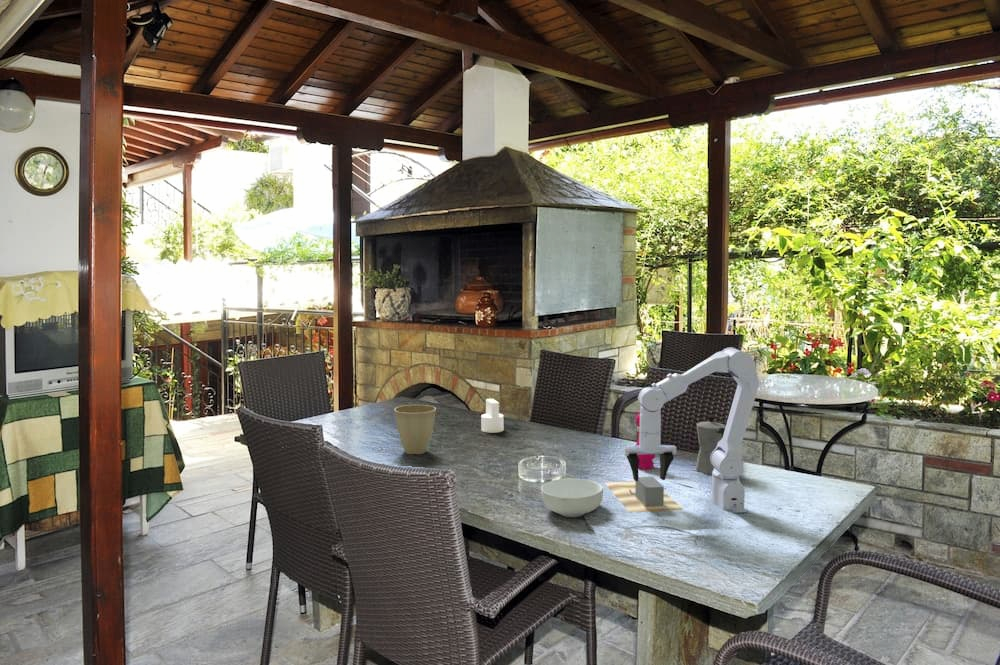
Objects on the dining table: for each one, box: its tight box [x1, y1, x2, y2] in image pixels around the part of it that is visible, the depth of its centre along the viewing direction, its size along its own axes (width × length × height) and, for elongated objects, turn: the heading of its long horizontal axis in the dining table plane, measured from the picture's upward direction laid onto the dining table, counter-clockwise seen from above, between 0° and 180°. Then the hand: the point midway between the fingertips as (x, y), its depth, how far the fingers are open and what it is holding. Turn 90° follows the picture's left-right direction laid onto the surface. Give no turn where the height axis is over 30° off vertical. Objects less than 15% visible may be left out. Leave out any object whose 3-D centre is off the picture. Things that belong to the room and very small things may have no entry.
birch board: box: [604, 480, 684, 513], centre depth 205 cm, size 26×15×1 cm, turn 7°
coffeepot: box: [695, 415, 726, 475], centre depth 230 cm, size 15×9×18 cm, turn 14°
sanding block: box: [635, 476, 665, 509], centre depth 198 cm, size 9×5×6 cm, turn 7°
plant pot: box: [393, 404, 437, 455], centre depth 256 cm, size 15×15×16 cm
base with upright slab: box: [480, 398, 505, 434], centre depth 289 cm, size 9×9×12 cm
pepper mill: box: [634, 412, 656, 470], centre depth 235 cm, size 7×7×20 cm
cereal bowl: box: [540, 478, 604, 518], centre depth 195 cm, size 17×17×7 cm
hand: (649, 479), depth 197 cm, fingers open, 7 cm apart
